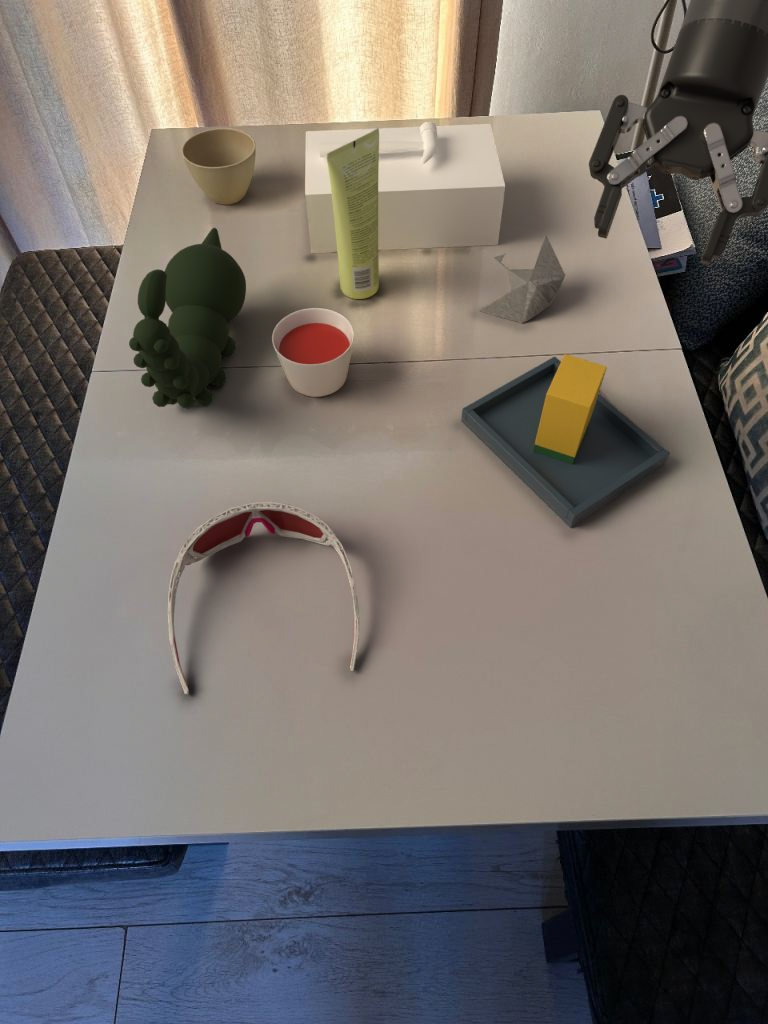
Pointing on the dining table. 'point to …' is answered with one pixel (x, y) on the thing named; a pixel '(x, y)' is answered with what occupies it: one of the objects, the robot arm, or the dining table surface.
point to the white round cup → (314, 350)
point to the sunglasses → (239, 525)
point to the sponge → (568, 408)
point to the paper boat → (529, 287)
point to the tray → (562, 486)
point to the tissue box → (416, 186)
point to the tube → (356, 213)
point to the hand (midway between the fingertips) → (652, 249)
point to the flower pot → (221, 163)
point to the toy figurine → (188, 323)
